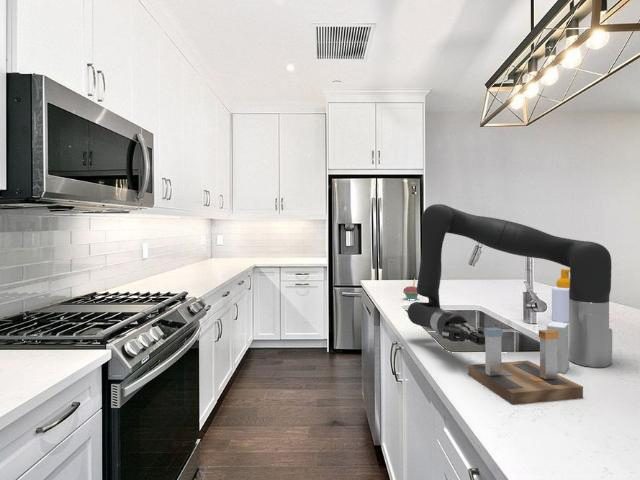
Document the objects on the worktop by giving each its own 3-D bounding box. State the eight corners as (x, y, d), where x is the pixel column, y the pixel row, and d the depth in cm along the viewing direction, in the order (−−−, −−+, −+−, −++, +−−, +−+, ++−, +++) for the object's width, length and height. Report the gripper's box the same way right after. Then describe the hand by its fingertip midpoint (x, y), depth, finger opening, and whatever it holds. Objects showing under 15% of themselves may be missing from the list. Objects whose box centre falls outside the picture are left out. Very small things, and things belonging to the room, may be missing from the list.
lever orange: (551, 375, 95) (551, 329, 95) (558, 378, 93) (558, 331, 93) (538, 376, 94) (538, 330, 94) (545, 379, 92) (545, 332, 92)
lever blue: (497, 372, 98) (497, 327, 97) (502, 375, 95) (502, 329, 95) (484, 373, 97) (484, 328, 97) (489, 376, 95) (489, 330, 95)
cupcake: (422, 299, 214) (421, 276, 214) (416, 301, 207) (416, 278, 207) (406, 298, 219) (406, 275, 219) (400, 300, 212) (400, 277, 211)
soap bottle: (569, 324, 155) (569, 271, 155) (546, 320, 162) (546, 270, 161) (582, 319, 164) (582, 268, 163) (560, 316, 170) (560, 267, 169)
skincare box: (550, 364, 111) (551, 320, 110) (569, 367, 108) (569, 322, 108) (546, 370, 106) (546, 325, 106) (565, 374, 103) (565, 327, 103)
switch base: (527, 369, 107) (527, 359, 107) (583, 397, 89) (583, 385, 89) (468, 374, 104) (468, 364, 104) (512, 404, 86) (512, 392, 86)
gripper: (426, 312, 116) (457, 327, 99) (469, 310, 119) (506, 324, 102) (426, 338, 117) (457, 357, 100) (469, 336, 119) (506, 354, 102)
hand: (482, 340), depth 101 cm, fingers closed
